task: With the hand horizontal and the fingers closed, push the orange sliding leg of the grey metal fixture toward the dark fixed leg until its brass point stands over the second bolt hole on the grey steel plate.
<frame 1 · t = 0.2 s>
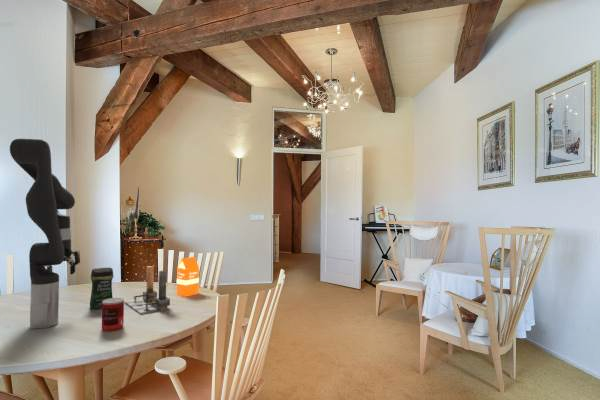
hand: (61, 274, 154), 18 cm above the table, tool pointing down, fingers open, 8 cm apart
sliding leg: (144, 283, 173), point 9 cm above the table, slide at 7.0 cm
grey metal fixture: (154, 304, 170), on the table
orange juice: (187, 294, 190), on the table
canned food: (112, 328, 136), on the table
coffee jar: (101, 307, 165), on the table
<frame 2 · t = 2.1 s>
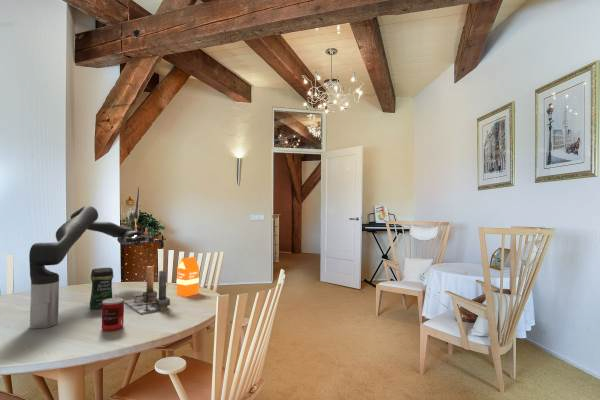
hand: (143, 240, 183), 30 cm above the table, tool horizontal, fingers open, 7 cm apart
nothing on the table moved.
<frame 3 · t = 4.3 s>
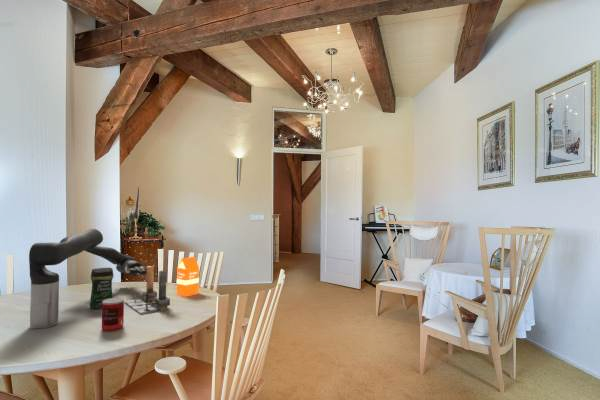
hand: (144, 272, 182), 13 cm above the table, tool horizontal, fingers closed
nothing on the table moved.
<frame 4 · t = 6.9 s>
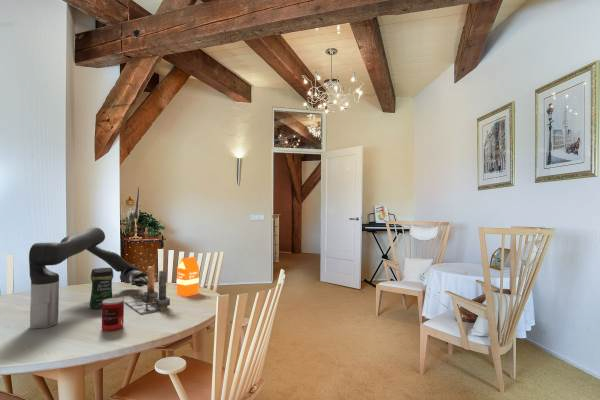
hand: (149, 283, 175), 9 cm above the table, tool horizontal, fingers closed
sliding leg: (145, 283, 173), point 9 cm above the table, slide at 5.7 cm, touching gripper
everything else where it was.
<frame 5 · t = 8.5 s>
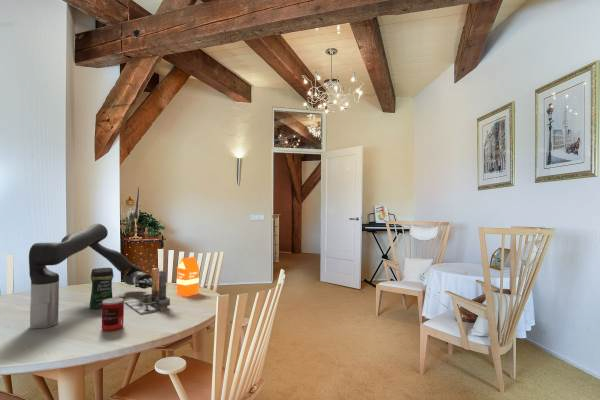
hand: (154, 285, 171), 9 cm above the table, tool horizontal, fingers closed
sliding leg: (150, 286, 168), point 9 cm above the table, slide at -0.6 cm, touching gripper
everything else where it was.
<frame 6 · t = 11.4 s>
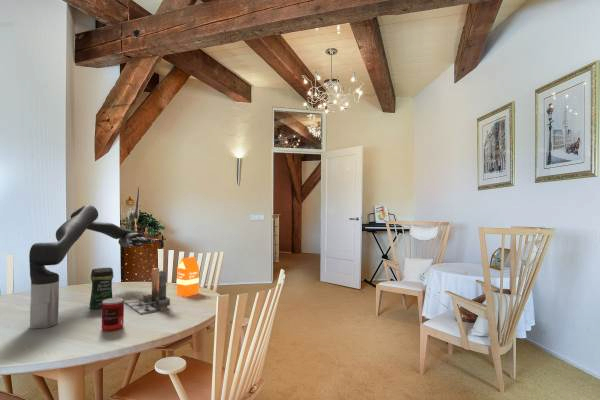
hand: (146, 241, 181), 30 cm above the table, tool horizontal, fingers closed
sliding leg: (150, 286, 168), point 9 cm above the table, slide at -0.6 cm
everything else where it was.
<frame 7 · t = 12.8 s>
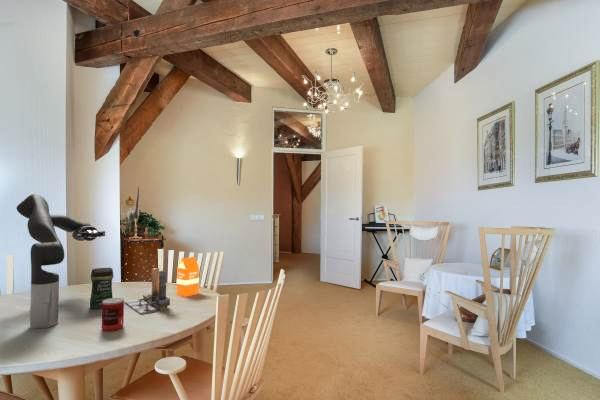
hand: (95, 235, 169), 34 cm above the table, tool horizontal, fingers closed
nothing on the table moved.
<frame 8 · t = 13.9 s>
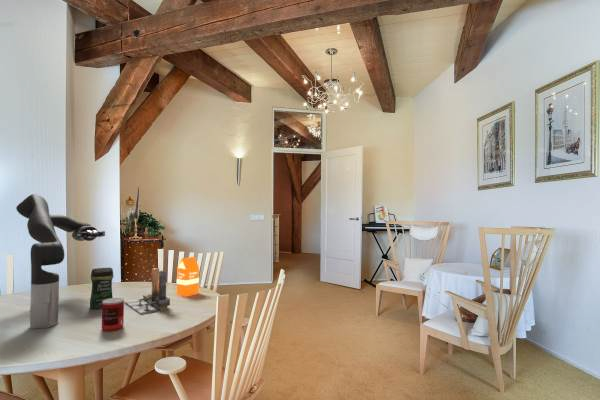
hand: (95, 235, 169), 34 cm above the table, tool horizontal, fingers closed
nothing on the table moved.
at the end: sliding leg slide at -0.6 cm; sliding leg touching nothing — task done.
